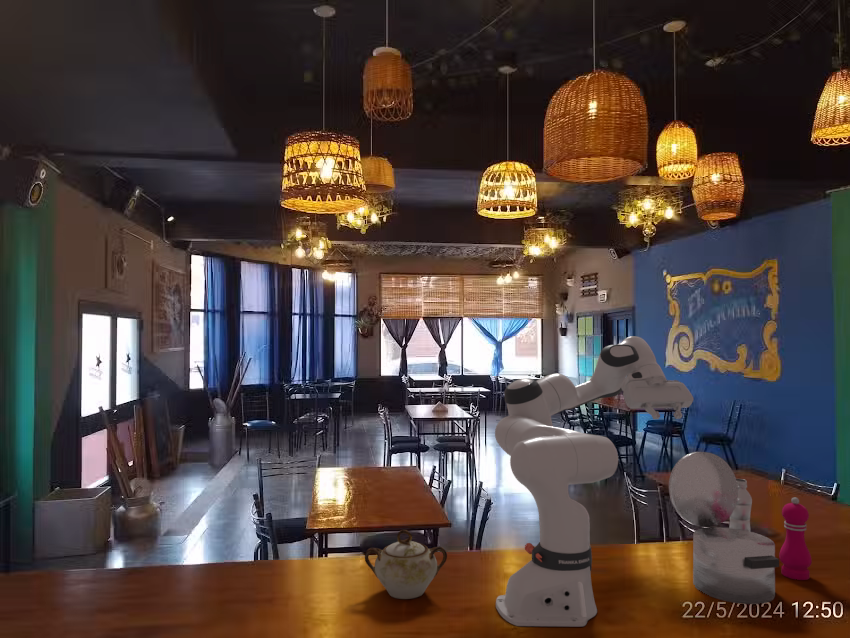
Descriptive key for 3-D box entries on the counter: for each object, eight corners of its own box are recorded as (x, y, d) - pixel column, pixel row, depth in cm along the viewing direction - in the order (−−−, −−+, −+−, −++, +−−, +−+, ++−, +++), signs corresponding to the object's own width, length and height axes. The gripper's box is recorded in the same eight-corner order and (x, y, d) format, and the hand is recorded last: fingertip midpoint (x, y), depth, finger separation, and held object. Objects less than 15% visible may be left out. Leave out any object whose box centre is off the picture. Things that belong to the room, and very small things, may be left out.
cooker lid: (668, 453, 170) (663, 452, 173) (675, 528, 167) (669, 527, 170) (733, 450, 174) (727, 450, 176) (742, 524, 171) (735, 523, 173)
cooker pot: (729, 611, 146) (729, 557, 147) (676, 574, 168) (676, 528, 168) (800, 605, 150) (800, 552, 150) (739, 570, 171) (739, 524, 171)
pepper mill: (816, 582, 163) (816, 502, 163) (784, 579, 165) (784, 500, 165) (805, 571, 170) (805, 494, 170) (775, 569, 172) (775, 493, 172)
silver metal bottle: (753, 549, 187) (753, 479, 187) (751, 556, 181) (751, 484, 181) (729, 545, 190) (729, 476, 191) (725, 551, 185) (725, 481, 185)
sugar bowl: (361, 605, 149) (361, 539, 149) (367, 579, 164) (367, 519, 164) (447, 606, 149) (447, 540, 149) (446, 580, 164) (446, 520, 164)
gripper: (677, 387, 202) (696, 423, 192) (616, 388, 198) (632, 425, 188) (685, 373, 197) (705, 410, 188) (623, 374, 194) (639, 411, 184)
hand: (668, 417), depth 188 cm, fingers open, 5 cm apart
